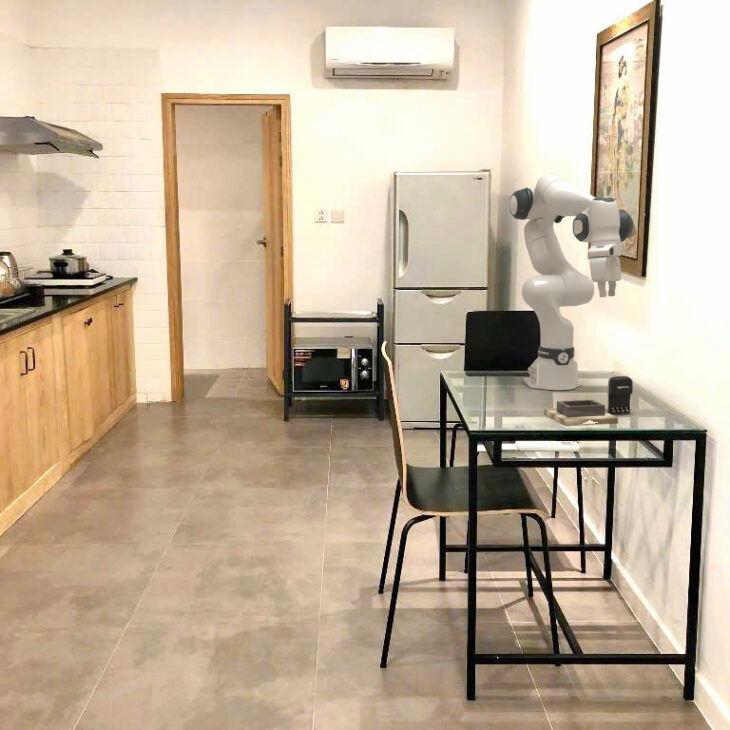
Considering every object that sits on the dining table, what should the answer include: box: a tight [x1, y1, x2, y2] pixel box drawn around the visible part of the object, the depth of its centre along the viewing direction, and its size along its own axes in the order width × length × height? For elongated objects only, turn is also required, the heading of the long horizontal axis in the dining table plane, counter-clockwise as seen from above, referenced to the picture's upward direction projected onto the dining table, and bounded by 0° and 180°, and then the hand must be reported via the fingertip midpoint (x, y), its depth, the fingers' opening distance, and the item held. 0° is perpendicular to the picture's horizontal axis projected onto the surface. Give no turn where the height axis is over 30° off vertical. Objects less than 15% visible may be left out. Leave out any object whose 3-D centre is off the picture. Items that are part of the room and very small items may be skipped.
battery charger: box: [606, 375, 634, 415], centre depth 271 cm, size 7×4×11 cm, turn 97°
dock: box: [543, 399, 619, 427], centre depth 266 cm, size 16×16×4 cm
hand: (607, 296), depth 275 cm, fingers open, 8 cm apart
